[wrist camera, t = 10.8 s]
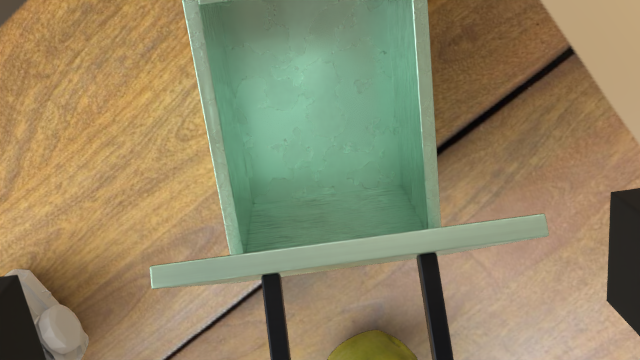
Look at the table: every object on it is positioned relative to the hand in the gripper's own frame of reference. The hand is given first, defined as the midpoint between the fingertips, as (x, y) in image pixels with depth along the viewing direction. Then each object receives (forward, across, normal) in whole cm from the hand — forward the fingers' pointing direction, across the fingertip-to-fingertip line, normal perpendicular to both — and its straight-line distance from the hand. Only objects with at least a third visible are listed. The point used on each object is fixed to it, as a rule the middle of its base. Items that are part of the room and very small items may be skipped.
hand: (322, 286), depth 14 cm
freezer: (+35, +1, -3) cm, 35 cm away
